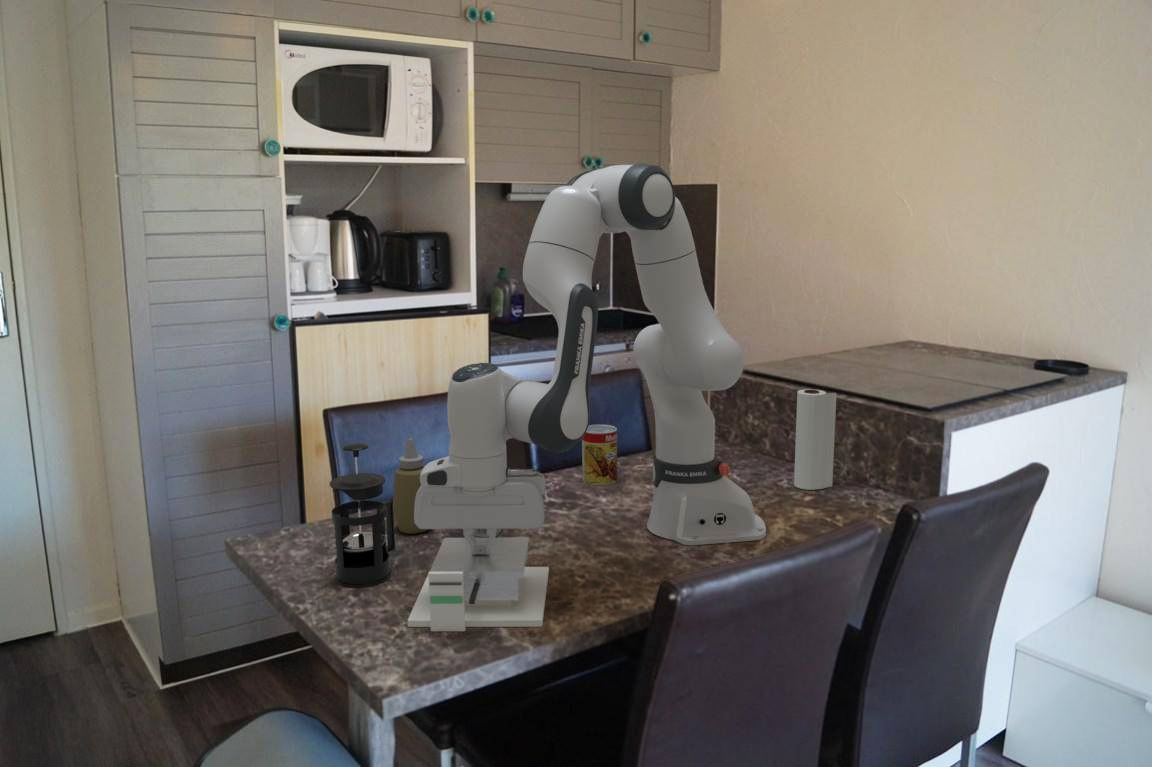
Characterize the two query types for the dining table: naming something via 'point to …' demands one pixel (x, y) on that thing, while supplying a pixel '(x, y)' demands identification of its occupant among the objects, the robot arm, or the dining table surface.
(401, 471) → the squeeze bottle
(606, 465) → the canned food
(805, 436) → the paper towel roll
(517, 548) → the pan
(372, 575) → the french press
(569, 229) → the robot arm
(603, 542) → the dining table surface
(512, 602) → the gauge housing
